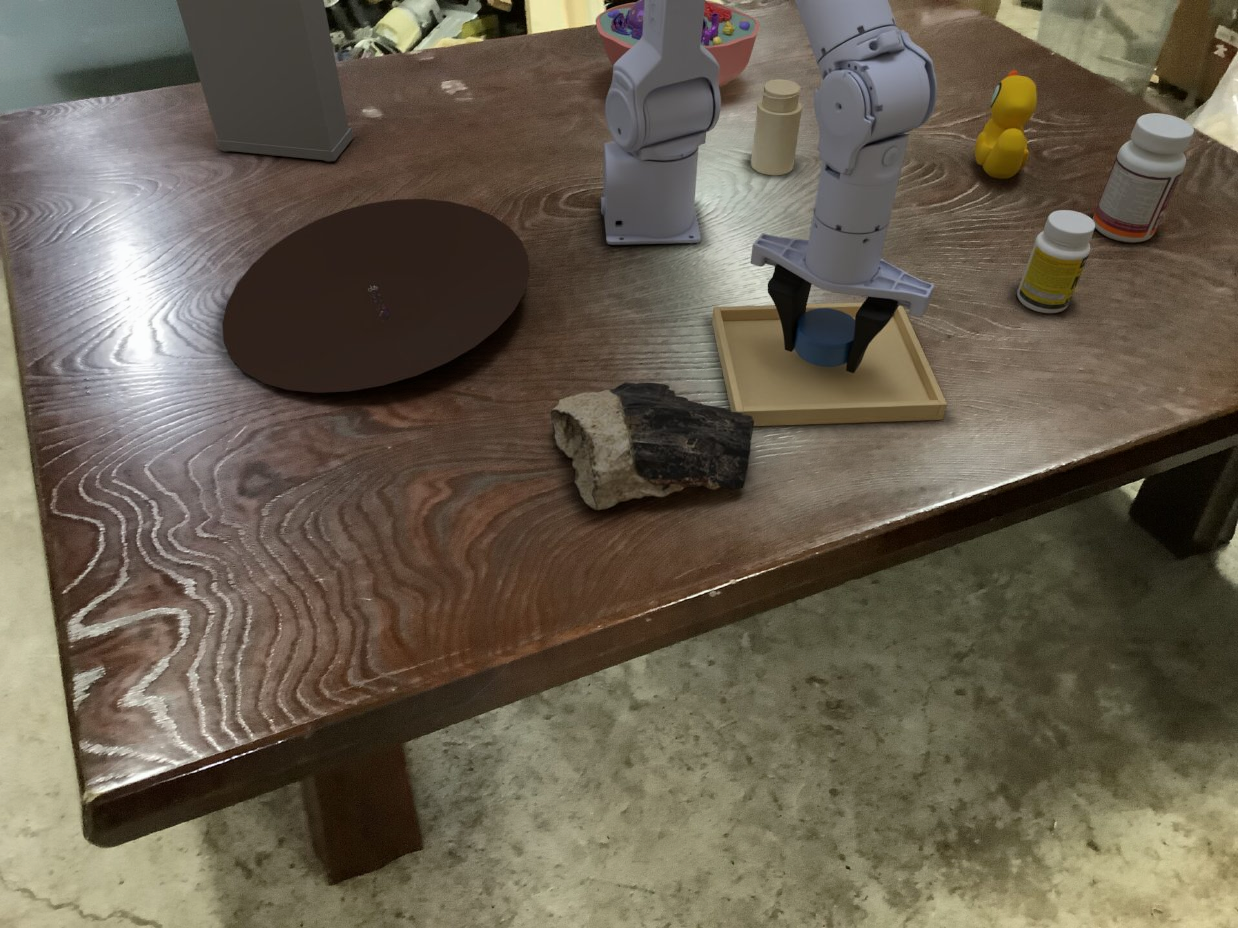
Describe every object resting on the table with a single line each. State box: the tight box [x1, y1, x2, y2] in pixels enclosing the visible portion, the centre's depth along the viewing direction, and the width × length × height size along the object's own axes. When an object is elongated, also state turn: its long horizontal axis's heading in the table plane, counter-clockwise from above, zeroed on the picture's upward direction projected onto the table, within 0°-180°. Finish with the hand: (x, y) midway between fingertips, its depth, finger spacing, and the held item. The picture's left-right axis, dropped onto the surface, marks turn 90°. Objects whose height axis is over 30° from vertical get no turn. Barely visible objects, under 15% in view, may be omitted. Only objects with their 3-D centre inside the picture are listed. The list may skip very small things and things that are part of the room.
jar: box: [750, 78, 803, 176], centre depth 107 cm, size 5×5×9 cm
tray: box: [711, 302, 948, 427], centre depth 84 cm, size 17×14×2 cm
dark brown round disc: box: [221, 198, 530, 394], centre depth 89 cm, size 28×28×4 cm
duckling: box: [974, 69, 1039, 180], centre depth 107 cm, size 11×5×10 cm, turn 168°
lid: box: [794, 308, 855, 367], centre depth 82 cm, size 5×5×2 cm
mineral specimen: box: [550, 381, 755, 511], centre depth 75 cm, size 13×7×15 cm
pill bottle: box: [1092, 112, 1195, 243], centre depth 97 cm, size 6×6×11 cm
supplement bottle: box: [1016, 209, 1096, 314], centre depth 89 cm, size 5×5×8 cm
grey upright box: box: [176, 0, 355, 163], centre depth 104 cm, size 14×6×25 cm, turn 80°
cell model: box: [595, 0, 761, 88], centre depth 120 cm, size 17×20×11 cm
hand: (823, 355), depth 84 cm, fingers closed on lid, 5 cm apart
